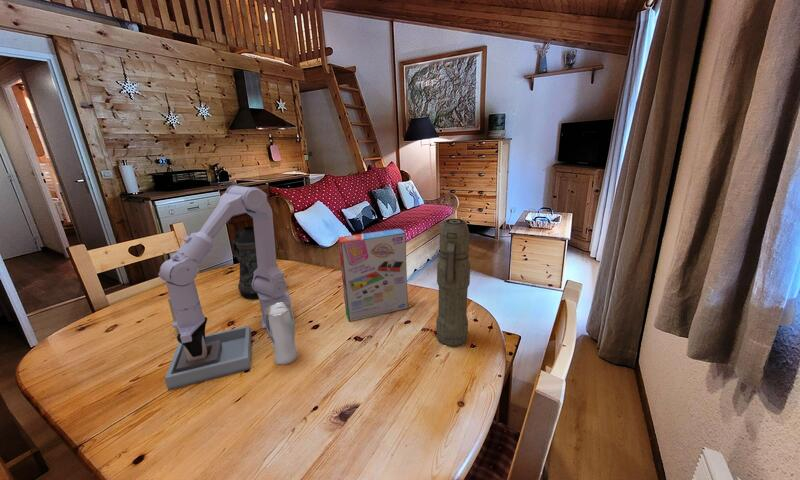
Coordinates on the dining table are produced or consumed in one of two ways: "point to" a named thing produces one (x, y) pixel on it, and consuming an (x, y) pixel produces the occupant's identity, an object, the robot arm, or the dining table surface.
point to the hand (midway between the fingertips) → (198, 350)
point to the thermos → (453, 283)
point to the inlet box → (212, 358)
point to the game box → (374, 273)
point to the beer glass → (281, 332)
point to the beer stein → (246, 261)
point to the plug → (204, 354)
